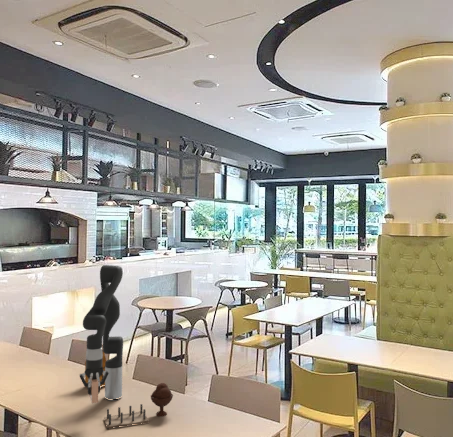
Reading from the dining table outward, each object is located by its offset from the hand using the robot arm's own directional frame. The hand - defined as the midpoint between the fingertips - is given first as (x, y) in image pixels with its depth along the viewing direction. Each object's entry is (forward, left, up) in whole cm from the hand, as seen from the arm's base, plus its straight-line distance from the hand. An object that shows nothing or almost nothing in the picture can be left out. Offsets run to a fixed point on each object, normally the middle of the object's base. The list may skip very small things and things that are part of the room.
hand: (93, 393), depth 216 cm
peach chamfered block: (0, 0, -2) cm, 2 cm away
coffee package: (-55, +7, -15) cm, 58 cm away
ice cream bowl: (-1, +33, -15) cm, 36 cm away
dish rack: (+1, +15, -15) cm, 21 cm away
